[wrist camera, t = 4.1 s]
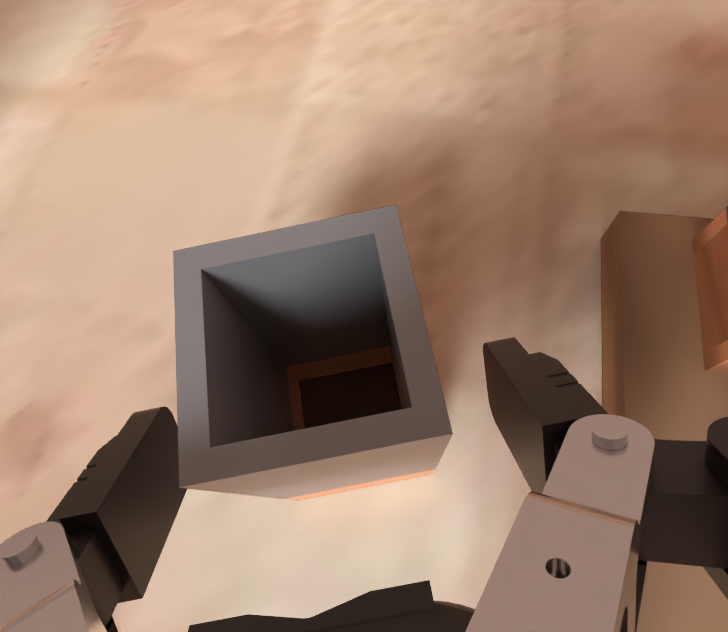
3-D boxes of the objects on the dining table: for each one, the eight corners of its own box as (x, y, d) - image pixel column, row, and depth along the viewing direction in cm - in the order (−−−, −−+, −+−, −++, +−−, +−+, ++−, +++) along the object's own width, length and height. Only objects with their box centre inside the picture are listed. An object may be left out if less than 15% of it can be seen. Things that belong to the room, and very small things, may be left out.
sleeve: (433, 473, 17) (452, 433, 9) (297, 500, 17) (179, 487, 9) (404, 344, 19) (395, 204, 10) (282, 369, 19) (172, 250, 11)
